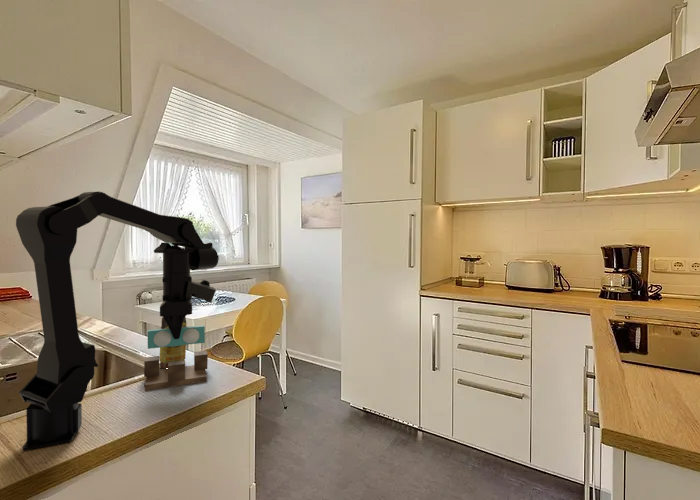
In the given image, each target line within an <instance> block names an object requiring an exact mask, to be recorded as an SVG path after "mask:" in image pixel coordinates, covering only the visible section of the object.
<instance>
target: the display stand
mask: <svg viewBox="0 0 700 500" xmlns="http://www.w3.org/2000/svg"><path fill="white" fill-rule="evenodd" d="M193 352H194V356H193V360H194V361H193V365H186V360H185V361H176V362H168V369H163V368H161V369H160V355H156V356H155V355H154V356H153V355H152V356H146V357H145V358H144V363H143V365H144V366H143V368H144V370H143V371H144V372H143V376H144V378H145V381H144V391H150V390H156V389H161V388H169V387H175V386H183V385H189V384H190V385H191V384H196V383H205V382H207V379H208V377H207V371H206V370H208V358H209V357H208V354H209V353H208V351H207V350H200V351H193Z"/></svg>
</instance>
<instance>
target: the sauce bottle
mask: <svg viewBox="0 0 700 500" xmlns="http://www.w3.org/2000/svg"><path fill="white" fill-rule="evenodd" d="M186 318H187V316H185V317H184V320H183V324H182V327H188V326H187V325H188V323H187V319H186ZM167 328H169V327H168V325H167V323H166V321H165V319H164V317H162V316H161V326H160V329H167ZM186 348H187V345H179V346H170V347H160V348H159V368H161V369H166V368H168V362H176V361H185V362H186V352H187V351H186V350H187V349H186Z"/></svg>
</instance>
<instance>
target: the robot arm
mask: <svg viewBox="0 0 700 500" xmlns="http://www.w3.org/2000/svg"><path fill="white" fill-rule="evenodd" d="M97 217H102V218H104V219H109V220H111V221H115V222H118V223H121V224H124V225H128V226H131V227H135V228H137V229H140V230H143V231H146V232H147V233H149V234H150V235H151V236H152V237H154V238H156V239H157V240H160V241H162V242H161V243H160V244H159V245H158V246H157V247H155V249H154V250H153V252H154V253H155V254H162V303H161V304H160V306H159V317H161V318H162V317H164V319H165V321H166V323H167V325H168V327H169V329H170V331H171V334H172V336H173V338H174V339H179V338H180V333H181V329H182V324H183V320H184V317H187V316H189V315H192V314H193V303H192V302H191V300H192V299H193V298H195V299H200V300H203V301H205V302H207V303H212V302H213V299H214V297H215V294H216V291H217V290H216V288H215V287H214V286H211V285H210V284H211V283H210V281H209V280H205V279H202V280H201V281H200V282H199V281H198V282H197V281H193V278H192V276H191V271H199V270H200V271H202V270H211V269H213V268H214V269H215V268H216V267H217V265H218V264H219V258H220V256H219V254H218V252H217V250H216V249H215V248H214V247H213V243H212V242H204V241H203V240H202V238H201V237H200V235H199V233H198V232H197V230H196V228H195V226H194V223H193V221H192V220H191V219H189V218H185V217H180V216H172V215H164V214H159V213H156V212H154V211H150V210H148V209H145V208H143V207H140V206H137V205H135V204H131V203H129V202H126V201H123V200H121V199H118V198H115V197H113V196H110V195H109V194H107V193H105V192H103V191H85V192H84V191H83V192H82V193H80V194H79V195H76V196H74V197H72V198H71V197H70V198H69V199H65V200H62V201H60V202H59V201H58V202H55V203H53V204H50V205H47V206H33V207H27V208H25V209H23V210H22V212H20V213H19V214H18V215H17V216H16V220H15V226H16V230H17V233H18V235H19V238H20V240H21V244H22V245H23V247H24V249H25V250H26V251H27V253H28V254H29V256H30V257H31V259H32V261H33V264H34V265H33V266H34V272H35V273H34V274H35V279H36V288H37V294H38V301H39V302H38V304H39V311H40V315H41V316H40V317H41V325H42V332H43V338H44V340H43V345H42V347H41V350H40V353H39V354H38V358H37V364H36V365H37V366H36V373H35V374H34V375H33V377H31V379H30V380H29V381H28V382H27V383H26V384H25V385H23V387H22V388H21V389H20V390H19V397H20V398H21V400H22V401H23V402H24V403H28V404H29V405H28V406H27V408H26V441H25V442H24V444H23V445H22V447H21V449H22V451H26V450H27V451H29V450H33V449H38V448H43V447H44V448H45V447H50V446H54V445H60V444H66V443H70V442H72V441H73V439H74V438H75V436H76V434H77V433H78V432H79V431H80V429H81V427H82V423H83V421H82V418H83V417H82V412H83V410H82V401H83V400H84V397H85V395H86V392H87V388H88V385H89V384H90V382H91V381H92V380H93V379H94V376H95V368H98V367H99V365H98V363H97V361H96V346H95V345H94V344H91V343H86V342H82V340H81V338H80V336H79V335H80V334H79V328H78V327H79V326H78V317H77V310H76V301H75V293H74V286H73V276H72V269H71V256H72V253H73V251H74V249H75V247H76V244H77V238H78V229H79V228H82V227H84V226H86V225H87V224H90V223H91V222H92V221H93V220H95V219H96V218H97Z"/></svg>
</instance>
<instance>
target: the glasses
mask: <svg viewBox="0 0 700 500" xmlns="http://www.w3.org/2000/svg"><path fill="white" fill-rule="evenodd" d="M205 326H206V325H193V326H190V325H189V326H187V327H182V329H181V333H180V338H179V339H174V338H173V336H172V334H171V331H170V329H169V328H167V329H161V328H157V329H148V330H147V349H149V350H151V349H157V348H159V349H160V347H170V346H179V345H186V346H187V345H189V346H190V345H198V344H205V339H206V338H205V337H206V334H205V333H206V332H205V331H206V328H205Z"/></svg>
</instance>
